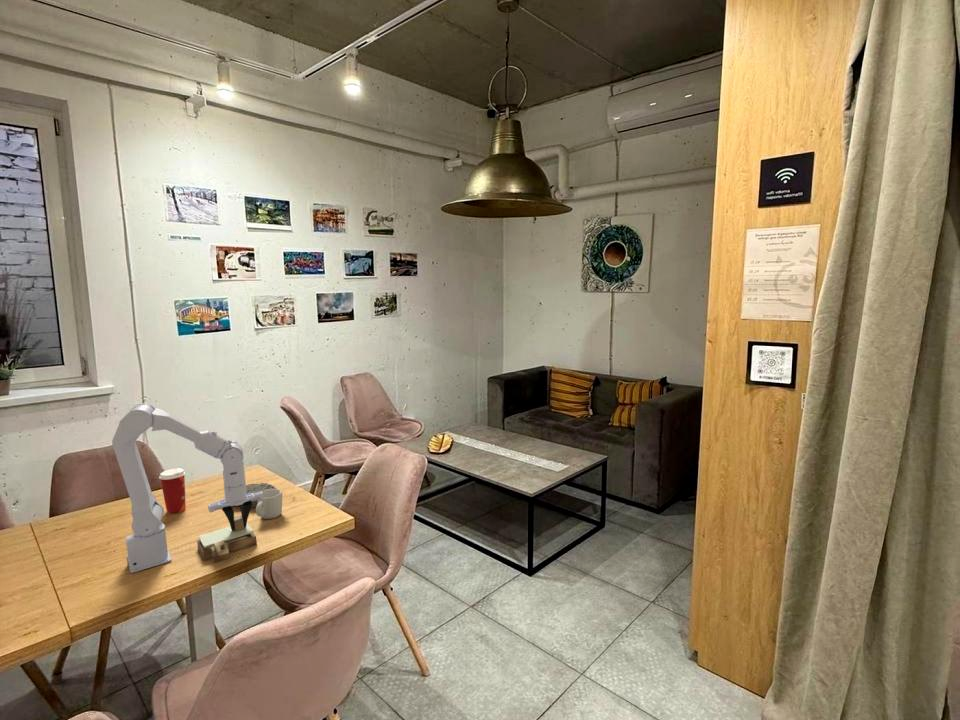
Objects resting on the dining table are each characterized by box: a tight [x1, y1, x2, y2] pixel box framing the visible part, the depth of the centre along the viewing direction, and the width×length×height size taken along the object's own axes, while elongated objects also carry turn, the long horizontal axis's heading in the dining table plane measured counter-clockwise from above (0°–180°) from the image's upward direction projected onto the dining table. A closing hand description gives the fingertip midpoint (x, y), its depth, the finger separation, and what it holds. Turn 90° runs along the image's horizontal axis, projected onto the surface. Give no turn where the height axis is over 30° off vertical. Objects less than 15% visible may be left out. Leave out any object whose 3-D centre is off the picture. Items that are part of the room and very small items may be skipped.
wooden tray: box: [196, 532, 257, 564], centre depth 145 cm, size 14×12×3 cm
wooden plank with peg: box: [214, 541, 230, 556], centre depth 138 cm, size 2×6×2 cm, turn 39°
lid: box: [198, 515, 254, 548], centre depth 146 cm, size 13×8×4 cm, turn 128°
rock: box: [235, 482, 278, 508], centre depth 178 cm, size 13×6×15 cm
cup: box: [255, 488, 283, 520], centre depth 165 cm, size 11×8×8 cm
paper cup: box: [158, 467, 187, 515], centre depth 172 cm, size 8×8×14 cm
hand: (238, 528), depth 148 cm, fingers closed on lid, 2 cm apart
